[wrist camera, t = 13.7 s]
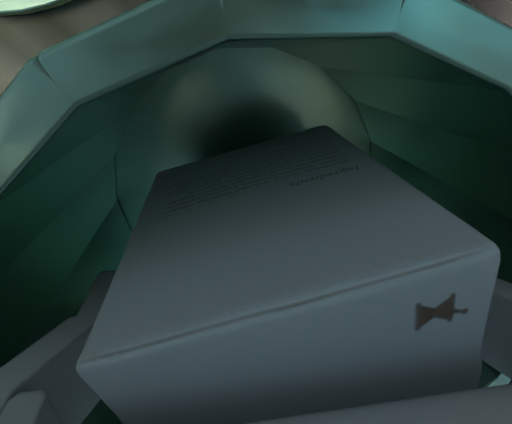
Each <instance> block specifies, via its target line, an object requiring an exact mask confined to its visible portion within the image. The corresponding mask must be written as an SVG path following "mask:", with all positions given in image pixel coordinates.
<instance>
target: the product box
mask: <svg viewBox="0 0 512 424" xmlns="http://www.w3.org/2000/svg"><path fill="white" fill-rule="evenodd" d="M499 265H500V250H499V248H498V247H497V245H496V244H495V243H494V242H493V241H491V240H490V239H488V238H487V237H485V236H484V235H483V234H481V233H480V232H478V231H477V230H476V229H474V228H473V227H471V226H470V225H468V224H467V223H465V222H464V221H463V220H461V219H460V218H458V217H457V216H455V215H454V214H452V213H451V212H449V211H448V210H446V209H445V208H443V207H442V206H441V205H439V204H438V203H436V202H435V201H433V200H432V199H431V198H429V197H428V196H426V195H425V194H423V193H422V192H421V191H419V190H418V189H416V188H415V187H413V186H412V185H411V184H409V183H408V182H406V181H405V180H403V179H402V178H400V177H399V176H398V175H396V174H395V173H393V172H392V171H391V170H389V169H388V168H386V167H385V166H384V165H382V164H381V163H379V162H378V161H376V160H375V159H374V158H372V157H371V156H369V155H368V154H366V153H365V152H363V151H362V150H361V149H359V148H358V147H356V146H355V145H354V144H352V143H351V142H349V141H348V140H346V139H345V138H343V137H342V136H341V135H339V134H338V133H337V132H335V131H334V130H333V129H331V128H330V127H328V126H325V125H323V126H317V127H314V128H311V129H308V130H304V131H300V132H297V133H293V134H290V135H286V136H283V137H279V138H276V139H272V140H269V141H265V142H261V143H258V144H254V145H251V146H247V147H244V148H240V149H237V150H233V151H230V152H226V153H223V154H219V155H216V156H212V157H209V158H205V159H202V160H198V161H195V162H191V163H188V164H184V165H181V166H178V167H174V168H171V169H167V170H164V171H161V172H159V173H157V175H156V177H155V180H154V182H153V185H152V187H151V189H150V192H149V194H148V196H147V198H146V201H145V203H144V206H143V208H142V210H141V212H140V215H139V218H138V220H137V222H136V225H135V227H134V230H133V232H132V234H131V237H130V239H129V242H128V244H127V246H126V249H125V251H124V253H123V256H122V258H121V261H120V263H119V266H118V268H117V270H116V272H115V275H114V277H113V280H112V282H111V284H110V287H109V289H108V292H107V294H106V297H105V299H104V301H103V304H102V306H101V308H100V311H99V313H98V315H97V318H96V320H95V322H94V324H93V327H92V329H91V332H90V334H89V336H88V339H87V341H86V343H85V346H84V348H83V350H82V353H81V355H80V357H79V359H78V361H77V364H76V371H77V373H78V374H79V376H80V377H81V378H82V379H83V380H84V381H85V382H86V384H87V385H88V386H89V387H90V388H91V389H92V390H93V391H94V392H95V393H96V394H97V395H98V396H99V397H100V398H101V399H102V400H103V401H104V403H105V404H106V405H107V406H108V407H109V408H110V409H111V410H112V411H113V412H114V413H115V414H116V415H117V417H118V418H119V419H120V420H121V421H122V422H123V424H241V423H248V422H255V421H262V420H268V419H275V418H282V417H289V416H296V415H302V414H309V413H316V412H323V411H330V410H337V409H343V408H350V407H357V406H364V405H371V404H377V403H384V402H391V401H397V400H404V399H411V398H418V397H424V396H431V395H438V394H444V393H451V392H458V391H465V390H471V389H477V388H478V384H479V380H480V376H481V370H482V359H481V347H482V341H483V336H484V331H485V326H486V322H487V317H488V313H489V308H490V304H491V299H492V295H493V291H494V286H495V282H496V277H497V273H498V269H499Z"/></svg>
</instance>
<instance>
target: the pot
mask: <svg viewBox="0 0 512 424" xmlns="http://www.w3.org/2000/svg"><path fill="white" fill-rule="evenodd" d="M323 125H325V126H328V127H330V128H331V129H333V130H334V131H335V132H337V133H338V134H339V135H341V136H342V137H343V138H345V139H346V140H348V141H349V142H351V143H352V144H354V145H355V146H356V147H358V148H359V149H361V150H362V151H363V152H365V153H366V154H368V155H369V156H371V157H372V158H374V159H375V160H376V161H378V162H379V163H381V164H382V165H384V166H385V167H386V168H388V169H389V170H391V171H392V172H393V173H395V174H396V175H398V176H399V177H400V178H402V179H403V180H405V181H406V182H408V183H409V184H411V185H412V186H413V187H415V188H416V189H418V190H419V191H421V192H422V193H423V194H425V195H426V196H428V197H429V198H431V199H432V200H433V201H435V202H436V203H438V204H439V205H441V206H442V207H443V208H445V209H446V210H448V211H449V212H451V213H452V214H454V215H455V216H457V217H458V218H460V219H461V220H463V221H464V222H465V223H467V224H468V225H470V226H471V227H473V228H474V229H476V230H477V231H478V232H480V233H481V234H483V235H484V236H485V237H487V238H488V239H490V240H491V241H493V242H494V243H495V244H496V245H497V247H498V248H499V250H500V265H499V269H498V273H497V277H496V278H498V279H501V280H504V281H506V282H509V283H511V284H512V27H510V26H508V25H506V24H505V23H503V22H501V21H499V20H497V19H495V18H493V17H491V16H490V15H488V14H486V13H484V12H482V11H480V10H478V9H476V8H475V7H473V6H471V5H469V4H467V3H465V2H463V1H462V0H150V1H148V2H146V3H144V4H142V5H140V6H137V7H135V8H133V9H131V10H129V11H127V12H124V13H122V14H120V15H118V16H116V17H114V18H111V19H109V20H107V21H105V22H103V23H101V24H98V25H96V26H94V27H92V28H90V29H88V30H85V31H83V32H81V33H79V34H77V35H75V36H72V37H70V38H68V39H66V40H64V41H62V42H59V43H57V44H55V45H53V46H51V47H49V48H46V49H44V50H42V51H40V52H39V54H38V55H37V56H36V57H33V58H30V59H29V60H28V61H27V62H26V64H25V65H24V66H23V68H22V69H21V70H20V71H19V73H18V74H17V75H16V76H15V78H14V79H13V80H12V81H11V83H10V84H9V85H8V86H7V88H6V89H5V90H4V92H3V93H2V94H1V95H0V368H1V367H2V366H4V365H5V364H7V363H8V362H9V361H11V360H12V359H13V358H15V357H16V356H17V355H19V354H20V353H22V352H23V351H24V350H26V349H27V348H28V347H30V346H31V345H32V344H34V343H35V342H37V341H38V340H39V339H41V338H42V337H43V336H45V335H46V334H47V333H49V332H50V331H52V330H53V329H54V328H56V327H57V326H58V325H60V324H61V323H62V322H64V321H65V320H67V319H68V318H69V317H74V316H77V314H78V312H79V310H80V308H81V306H82V304H83V302H84V300H85V299H86V297H87V295H88V293H89V291H90V289H91V287H92V285H93V283H94V281H95V279H96V277H97V275H98V274H99V273H100V272H102V271H110V270H117V268H118V266H119V263H120V261H121V258H122V256H123V253H124V251H125V249H126V246H127V244H128V242H129V239H130V237H131V234H132V232H133V230H134V227H135V225H136V222H137V220H138V218H139V215H140V212H141V210H142V208H143V206H144V203H145V201H146V198H147V196H148V194H149V192H150V189H151V187H152V185H153V182H154V180H155V177H156V175H157V173H159V172H161V171H164V170H167V169H171V168H174V167H178V166H181V165H184V164H188V163H191V162H195V161H198V160H202V159H205V158H209V157H212V156H216V155H219V154H223V153H226V152H230V151H233V150H237V149H240V148H244V147H247V146H251V145H254V144H258V143H261V142H265V141H269V140H272V139H276V138H279V137H283V136H286V135H290V134H293V133H297V132H300V131H304V130H308V129H311V128H314V127H317V126H323ZM510 380H511V379H509V378H508V377H506V376H505V375H504V374H502V373H501V372H499V371H498V370H496V369H495V368H493V367H492V366H490V365H489V364H487V363H486V362H484V361H483V360H482V370H481V376H480V380H479V384H478V388H485V387H491V386H498V385H505V384H509V382H510ZM478 388H477V389H478ZM81 424H123V422H122V421H121V420H120V419H119V418H118V417H117V415H116V414H115V413H114V412H113V411H112V410H111V409H110V408H109V407H108V406H107V405H106V404H105V403H104V401H103V400H102V399H100V400H99V402H98V403H97V404H96V405H95V407H94V408H93V409H92V410H91V412H90V413H89V414H88V415H87V417H86V418H85V419H84V420H83V422H82V423H81Z"/></svg>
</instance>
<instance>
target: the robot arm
mask: <svg viewBox="0 0 512 424" xmlns="http://www.w3.org/2000/svg"><path fill="white" fill-rule="evenodd" d="M115 272H116V270H110V271H102V272H100V273H99V274H98V275H97V277H96V279H95V281H94V283H93V285H92V287H91V289H90V291H89V293H88V295H87V297H86V299H85V300H84V302H83V304H82V306H81V308H80V310H79V312H78V314H77V316H74V317H69V318H68V319H67V320H65V321H64V322H62V323H61V324H60V325H58V326H57V327H56V328H54V329H53V330H52V331H50V332H49V333H47V334H46V335H45V336H43V337H42V338H41V339H39V340H38V341H37V342H35V343H34V344H32V345H31V346H30V347H28V348H27V349H26V350H24V351H23V352H22V353H20V354H19V355H17V356H16V357H15V358H13V359H12V360H11V361H9V362H8V363H7V364H5V365H4V366H2V367H1V368H0V424H81V423H82V422H83V420H84V419H85V418H86V417H87V415H88V414H89V413H90V412H91V410H92V409H93V408H94V407H95V405H96V404H97V403H98V402H99V400H100V399H101V398H100V397H99V396H98V395H97V394H96V393H95V392H94V391H93V390H92V389H91V388H90V387H89V386H88V385H87V384H86V382H85V381H84V380H83V379H82V378H81V377H80V376H79V374H78V373H77V371H76V364H77V361H78V359H79V357H80V355H81V353H82V350H83V348H84V346H85V343H86V341H87V339H88V336H89V334H90V332H91V329H92V327H93V324H94V322H95V320H96V318H97V315H98V313H99V311H100V308H101V306H102V304H103V301H104V299H105V297H106V294H107V292H108V289H109V287H110V284H111V282H112V280H113V277H114V275H115ZM481 359H482V360H483V361H484V362H486V363H487V364H489V365H490V366H492V367H493V368H495V369H496V370H498V371H499V372H501V373H502V374H504V375H505V376H506V377H508V378H509V379H511V380H510V382H509V384H505V385H498V386H491V387H485V388H478V389H471V390H465V391H458V392H451V393H444V394H438V395H431V396H424V397H418V398H411V399H404V400H397V401H391V402H384V403H377V404H371V405H364V406H357V407H350V408H343V409H337V410H330V411H323V412H316V413H309V414H302V415H296V416H289V417H282V418H275V419H268V420H262V421H255V422H248V423H241V424H512V284H511V283H509V282H506V281H504V280H501V279H498V278H496V282H495V286H494V291H493V295H492V299H491V304H490V308H489V313H488V317H487V322H486V326H485V331H484V336H483V341H482V347H481Z"/></svg>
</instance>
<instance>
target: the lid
mask: <svg viewBox="0 0 512 424" xmlns="http://www.w3.org/2000/svg"><path fill="white" fill-rule="evenodd" d="M69 1H72V0H0V16H6V15H18V14H30V13H34V12H38V11H42V10H46V9H50V8H54V7H58V6H60V5H62V4H65V3H67V2H69Z"/></svg>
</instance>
